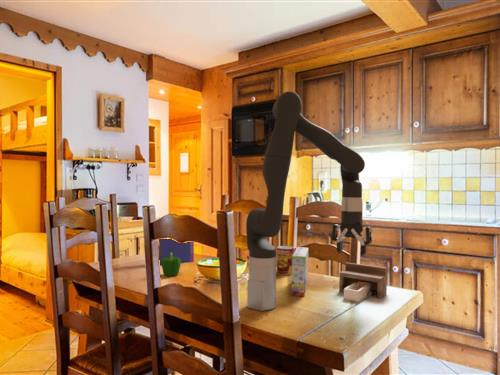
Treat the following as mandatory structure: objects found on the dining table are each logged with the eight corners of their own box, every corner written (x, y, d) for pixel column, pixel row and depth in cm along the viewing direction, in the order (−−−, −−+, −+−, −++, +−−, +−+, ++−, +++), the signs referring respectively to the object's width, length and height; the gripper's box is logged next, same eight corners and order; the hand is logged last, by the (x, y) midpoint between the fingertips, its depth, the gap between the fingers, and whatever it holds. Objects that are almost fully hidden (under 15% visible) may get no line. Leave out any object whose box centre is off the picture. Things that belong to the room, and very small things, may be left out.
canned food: (273, 273, 178) (273, 247, 178) (283, 270, 184) (283, 245, 184) (287, 275, 173) (287, 249, 173) (297, 272, 179) (297, 247, 179)
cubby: (380, 298, 140) (381, 271, 140) (339, 290, 149) (339, 265, 149) (386, 293, 146) (386, 267, 146) (346, 286, 155) (346, 262, 155)
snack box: (305, 297, 142) (306, 256, 141) (290, 296, 143) (290, 255, 143) (308, 282, 162) (308, 246, 162) (295, 281, 164) (295, 246, 163)
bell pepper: (176, 278, 168) (176, 255, 168) (159, 277, 170) (159, 254, 169) (183, 273, 176) (183, 251, 176) (166, 272, 178) (166, 251, 178)
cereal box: (190, 260, 206) (190, 215, 206) (193, 261, 202) (193, 216, 202) (158, 263, 197) (158, 217, 197) (161, 265, 193) (161, 217, 193)
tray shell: (358, 302, 136) (358, 291, 136) (343, 299, 139) (343, 288, 139) (371, 293, 147) (371, 282, 147) (357, 290, 151) (357, 280, 151)
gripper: (374, 210, 138) (374, 255, 138) (337, 208, 146) (337, 250, 147) (367, 211, 132) (366, 258, 132) (329, 209, 140) (328, 253, 141)
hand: (351, 254), depth 139 cm, fingers open, 8 cm apart
